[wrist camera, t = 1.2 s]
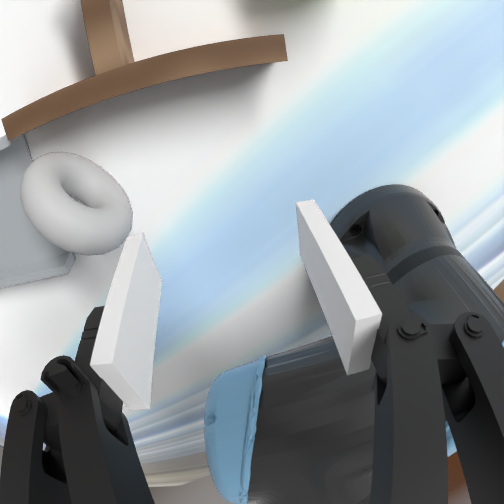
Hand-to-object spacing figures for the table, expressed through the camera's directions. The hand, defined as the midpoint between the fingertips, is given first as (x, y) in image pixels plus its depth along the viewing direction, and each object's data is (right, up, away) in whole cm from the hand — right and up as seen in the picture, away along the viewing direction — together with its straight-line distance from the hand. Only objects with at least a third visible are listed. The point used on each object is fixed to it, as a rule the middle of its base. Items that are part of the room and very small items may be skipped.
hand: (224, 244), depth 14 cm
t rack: (-9, +18, +5) cm, 20 cm away
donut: (-13, +7, +12) cm, 19 cm away
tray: (-26, +4, +12) cm, 29 cm away
